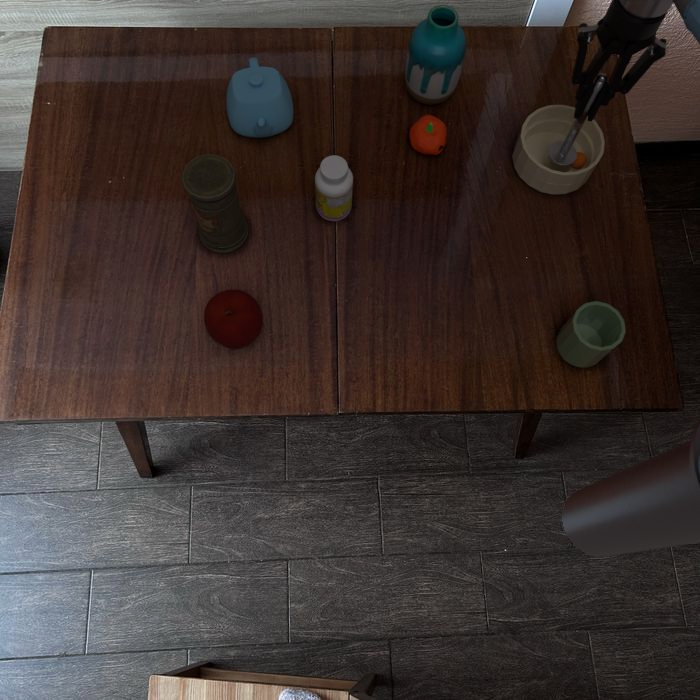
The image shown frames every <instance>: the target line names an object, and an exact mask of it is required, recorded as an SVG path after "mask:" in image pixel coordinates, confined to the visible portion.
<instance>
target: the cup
mask: <svg viewBox="0 0 700 700" xmlns="http://www.w3.org/2000/svg"><path fill="white" fill-rule="evenodd" d="M626 332H627V331H626V323H625V320H624V317H623V316H622V314H621V313H620V312H619V310H618V309H616V308H615V307H613V305H611V304H609V303H606V302H602V301H598V300H595V301H590V302H585V303H584V304H582V305H581V306H580V307H578V308H577V309H576V310H575V312H574V313H572V315H571V316H570V317H569V318H568V319H567V321H566V322H564V324H563V325H562V326H561V328H560V330H559V332H558V333H557V336H556V342H555V343H556V349H557V352H558V353H559V355H560V357H561V358H562V359H563V360H564V361H565V362H566V363H567V364H569V365H570V366H574V367H575V368H591V367H593V366H596V365H597V364H598V363H599V362H601V361H602V360H603V359H604V358H605V357H606V356H608V355H609V354H610V353H611V352H612V351H613V350H614V349H615V348H617V346H619V345H620V344H621V343H622V342H623V340H624V338H625V334H626Z"/></svg>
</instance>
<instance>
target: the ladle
mask: <svg viewBox="0 0 700 700" xmlns="http://www.w3.org/2000/svg"><path fill="white" fill-rule="evenodd" d="M606 82H608V75H607V74H606V73H604V72H601V73H600V72H599V73H598V75H597V76H596V78H595V79H594V82H593V89H592V93H591V95H590V97H589V99H588V101H587V103H586V105H585V107H584V109H583V111H582V113H581V115H580V116H579V118H578V119H575V121H574V123H573V125H572V127H571V129H570V131H569V133H568V135H567V136H566V138H565V140H564V141H558V142H555V143H553V144H552V145H551V146H550V148H549V150H548V152H547V154H546V156H545V165H546V167H547V168H549V169H551V170H556V171H560V172H568V171H569V170H570V169H571V167H572V165H573V164H574V162H575V160H576V158H577V151H576V149H575V147H574V146H573V143H574V141H575V139H576V137H577V135H578V133H579V131H580V130H581V128H582V126H583V124H584V122H585V120H586V118H587V116H588V115H589V113H590V111H591V109H592V107H593V105H594V103H595V101H596V100H597V98H598V96H599V94H600V92H601V90H602V88H603V86H604V84H605V83H606Z"/></svg>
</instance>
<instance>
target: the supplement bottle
mask: <svg viewBox="0 0 700 700" xmlns="http://www.w3.org/2000/svg"><path fill="white" fill-rule="evenodd" d="M319 166H320V167H318V169H317V170H316V173H315V175H314V194H315V195H314V197H315V208H316V211H317V214H319V215H320V217H321V218H323V219H324V220H326V221H330V222H338V221H341V220H343V219H345V218H346V217H347V216H348V215H350V213H351V212H352V211H351V210H352V207H353V191H354V190H353V188H354V175H353V172H352V171H351V168H349V165H348V162H347V160H346V159H345V158H344V157H342V156H340V155H335V154H333V155H329V156H326V157H324V159H322V161H321V162H320V165H319Z"/></svg>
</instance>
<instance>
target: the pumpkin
mask: <svg viewBox="0 0 700 700" xmlns="http://www.w3.org/2000/svg"><path fill="white" fill-rule="evenodd" d="M447 131H448V129H447V126H446V124H445V122H444V121H442V120H441V119H440V118H438V117H436V116H434V115H431V114H425V115H423V116H420V118H419V119H418V120H417V121H415V123H413V124H412V126H411V127H410V128H409V135H408V136H409V141H410V145H411V147H412V149H414V150H415V151H416V152H418V153H419V154H420V153H421V154H422V155H432V156H438V155H439V154H441V153H442V152H443V150H444V149H445V147H446V146H447V143H448V141H447V139H448V133H447Z"/></svg>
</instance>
